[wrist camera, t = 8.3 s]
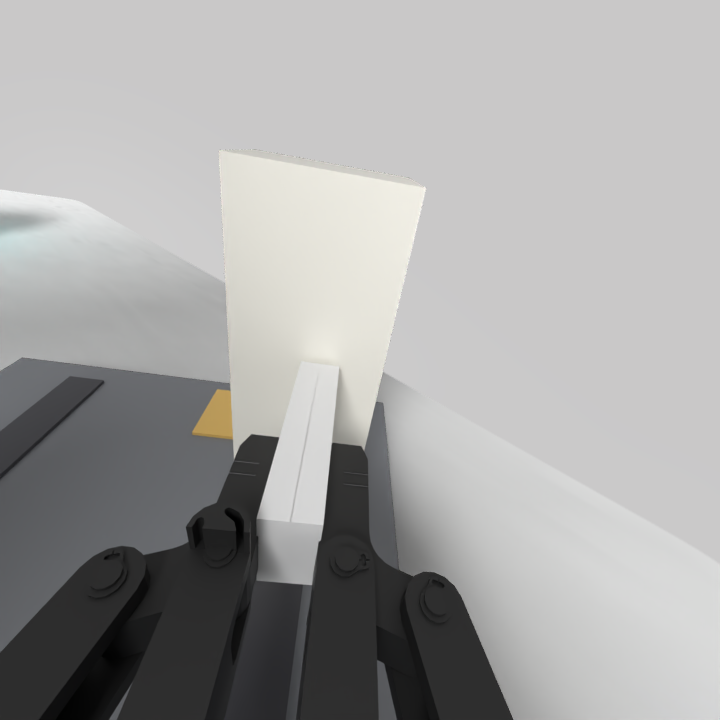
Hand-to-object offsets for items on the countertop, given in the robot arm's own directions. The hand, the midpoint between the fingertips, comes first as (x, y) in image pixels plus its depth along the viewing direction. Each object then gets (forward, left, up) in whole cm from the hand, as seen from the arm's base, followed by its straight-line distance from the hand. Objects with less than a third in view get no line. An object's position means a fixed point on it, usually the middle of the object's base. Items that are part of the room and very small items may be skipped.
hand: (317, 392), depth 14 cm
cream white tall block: (-1, +2, -6) cm, 7 cm away
